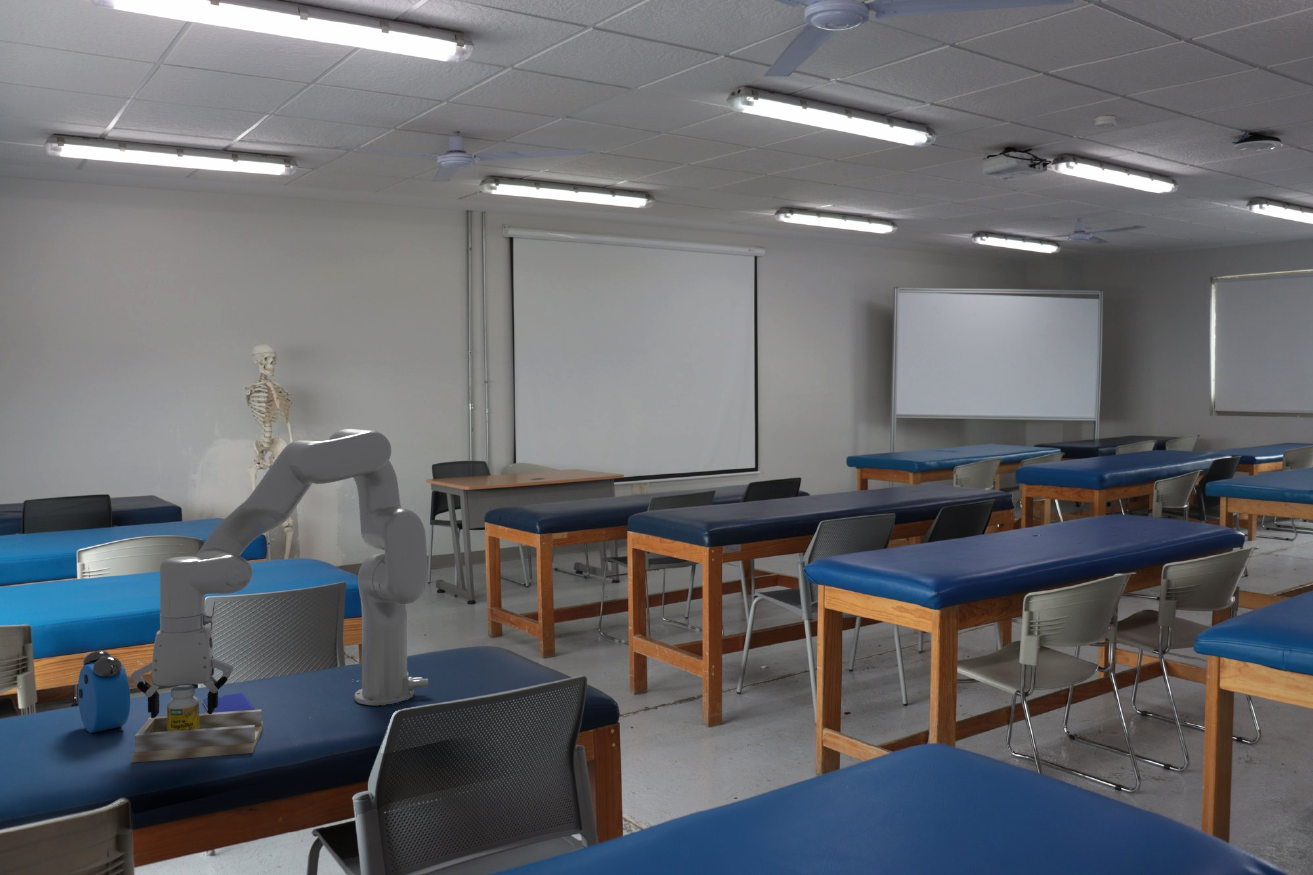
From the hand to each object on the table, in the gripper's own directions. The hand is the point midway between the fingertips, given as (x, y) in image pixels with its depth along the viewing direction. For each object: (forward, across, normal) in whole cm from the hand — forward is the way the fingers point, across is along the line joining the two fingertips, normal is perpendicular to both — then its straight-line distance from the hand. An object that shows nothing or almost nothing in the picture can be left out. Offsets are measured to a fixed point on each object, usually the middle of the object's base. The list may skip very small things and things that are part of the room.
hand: (183, 713), depth 176 cm
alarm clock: (+6, +17, -13) cm, 22 cm away
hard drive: (+7, -4, -21) cm, 23 cm away
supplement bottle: (+5, 0, 0) cm, 5 cm away
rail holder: (+6, -3, 0) cm, 7 cm away
